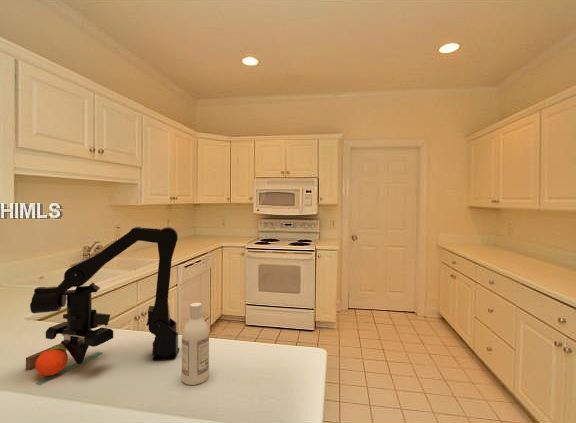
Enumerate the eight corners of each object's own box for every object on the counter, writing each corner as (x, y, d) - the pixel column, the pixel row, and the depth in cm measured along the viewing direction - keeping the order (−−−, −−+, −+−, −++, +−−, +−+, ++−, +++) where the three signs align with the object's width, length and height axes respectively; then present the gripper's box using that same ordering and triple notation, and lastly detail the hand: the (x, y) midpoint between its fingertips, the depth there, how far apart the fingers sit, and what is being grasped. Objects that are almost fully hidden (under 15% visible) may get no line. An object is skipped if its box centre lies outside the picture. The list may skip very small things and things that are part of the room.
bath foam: (210, 370, 84) (211, 299, 83) (206, 385, 77) (206, 308, 76) (185, 371, 83) (185, 300, 83) (178, 386, 76) (179, 308, 76)
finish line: (102, 353, 93) (102, 352, 93) (40, 386, 76) (40, 385, 76) (97, 352, 94) (97, 351, 94) (34, 384, 76) (34, 383, 76)
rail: (66, 354, 92) (66, 343, 92) (29, 371, 83) (29, 358, 83) (62, 353, 93) (62, 342, 93) (25, 370, 83) (25, 357, 83)
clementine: (78, 363, 85) (74, 338, 85) (66, 374, 78) (61, 348, 78) (46, 372, 83) (42, 347, 83) (31, 384, 76) (26, 357, 76)
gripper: (128, 302, 89) (129, 354, 89) (81, 297, 94) (82, 346, 94) (94, 315, 78) (95, 374, 78) (43, 308, 84) (44, 364, 84)
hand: (79, 363), depth 84 cm, fingers closed
